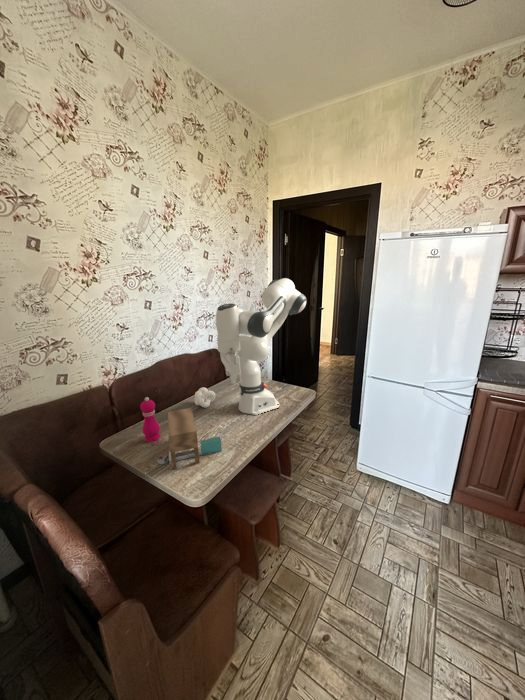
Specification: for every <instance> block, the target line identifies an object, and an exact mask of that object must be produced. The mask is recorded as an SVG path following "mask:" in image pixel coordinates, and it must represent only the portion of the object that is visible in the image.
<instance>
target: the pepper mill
mask: <svg viewBox="0 0 525 700" xmlns="http://www.w3.org/2000/svg"><path fill="white" fill-rule="evenodd" d="M155 409H156V403H155V402H154V400H152V399H150V398H149V397H148V396H147V397H144V400H143V401H142V402H141V403H140V410H141V412H142V416H143V417H144V421H143V426H142V434H143V435H144V441H147V443H153V442H156V441H158V440H159V439H160V437H161V434H160V431H161V426H160V424H159V423H158V422H157V420H156V418H155V413H156V410H155Z"/></svg>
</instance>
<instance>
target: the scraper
mask: <svg viewBox="0 0 525 700" xmlns="http://www.w3.org/2000/svg"><path fill="white" fill-rule="evenodd" d="M199 441H200V442H199V444H200V448H198V451H199V457H200V456H206V455H210V454H211V455H212V454H215V453H219V452H220V453H221V452H222V450H223V449H222V440H221V437H220V436H216V437H211V438H207V439H201V440H199ZM175 456H176V462H177V461H181V460H186V459H190V458H195V453H194V449H189V450H185V451H182V452H181V451H180V452H175ZM168 457H169V462H168V463H169V466H172V460H171V452H170V451H168Z"/></svg>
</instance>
